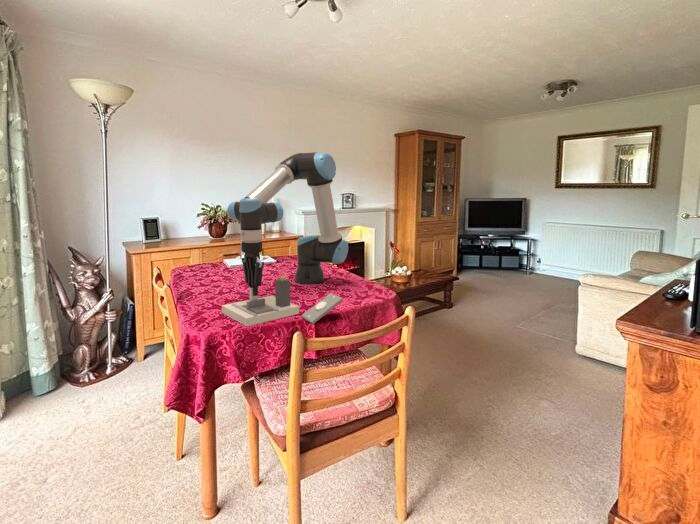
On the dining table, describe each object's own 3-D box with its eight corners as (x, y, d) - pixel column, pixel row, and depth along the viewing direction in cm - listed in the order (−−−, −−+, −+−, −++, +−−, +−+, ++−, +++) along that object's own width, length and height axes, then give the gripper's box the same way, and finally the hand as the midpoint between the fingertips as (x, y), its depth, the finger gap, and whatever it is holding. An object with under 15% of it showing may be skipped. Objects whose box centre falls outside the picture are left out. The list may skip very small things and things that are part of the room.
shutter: (246, 309, 149) (246, 301, 149) (263, 306, 154) (263, 298, 153) (256, 314, 144) (255, 305, 144) (273, 310, 149) (272, 302, 148)
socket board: (222, 312, 156) (221, 303, 155) (272, 302, 170) (271, 294, 169) (246, 326, 141) (246, 316, 140) (299, 313, 155) (299, 304, 154)
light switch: (299, 313, 150) (329, 290, 155) (307, 325, 152) (336, 302, 158) (310, 320, 143) (341, 295, 148) (317, 332, 145) (347, 308, 151)
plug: (275, 305, 156) (274, 276, 154) (284, 303, 158) (283, 275, 156) (281, 307, 153) (280, 278, 151) (290, 305, 155) (289, 277, 153)
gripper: (233, 240, 150) (236, 301, 154) (250, 244, 140) (253, 309, 144) (252, 238, 155) (254, 298, 159) (269, 242, 145) (271, 305, 149)
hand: (254, 303), depth 152 cm, fingers closed
